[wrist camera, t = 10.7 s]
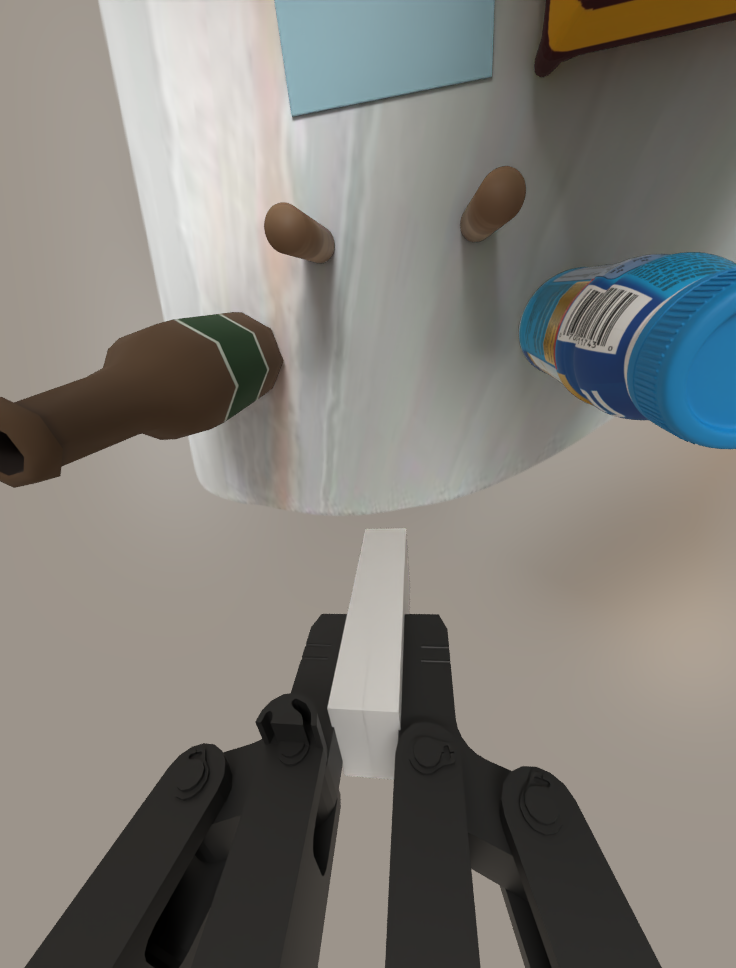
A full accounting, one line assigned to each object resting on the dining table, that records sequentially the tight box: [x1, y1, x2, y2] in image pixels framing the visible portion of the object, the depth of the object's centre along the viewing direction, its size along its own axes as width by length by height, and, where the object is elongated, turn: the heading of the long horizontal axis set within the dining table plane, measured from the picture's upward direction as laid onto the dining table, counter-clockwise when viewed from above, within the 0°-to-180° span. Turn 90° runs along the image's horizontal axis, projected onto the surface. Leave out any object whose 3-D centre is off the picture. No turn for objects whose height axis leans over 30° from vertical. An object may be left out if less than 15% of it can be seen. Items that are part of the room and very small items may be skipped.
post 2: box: [460, 166, 526, 242], centre depth 24 cm, size 3×3×9 cm
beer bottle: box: [0, 312, 283, 487], centre depth 25 cm, size 8×8×24 cm
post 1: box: [264, 203, 335, 263], centre depth 26 cm, size 3×3×9 cm
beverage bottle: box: [519, 252, 736, 449], centre depth 22 cm, size 8×8×20 cm
